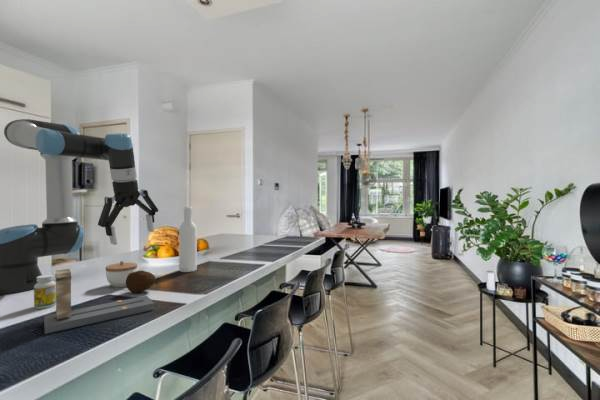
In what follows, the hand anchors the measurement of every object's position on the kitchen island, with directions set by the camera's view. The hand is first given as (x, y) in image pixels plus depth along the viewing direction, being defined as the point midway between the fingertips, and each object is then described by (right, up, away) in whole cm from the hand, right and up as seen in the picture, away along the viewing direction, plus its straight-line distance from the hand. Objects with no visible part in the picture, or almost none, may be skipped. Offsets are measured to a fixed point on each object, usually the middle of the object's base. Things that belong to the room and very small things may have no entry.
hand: (133, 237), depth 110 cm
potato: (+2, -20, +1) cm, 21 cm away
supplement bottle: (-21, -20, -13) cm, 32 cm away
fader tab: (-4, -18, -27) cm, 32 cm away
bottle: (+7, -20, +33) cm, 40 cm away
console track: (+2, -20, -21) cm, 29 cm away
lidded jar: (-10, -20, +9) cm, 24 cm away
